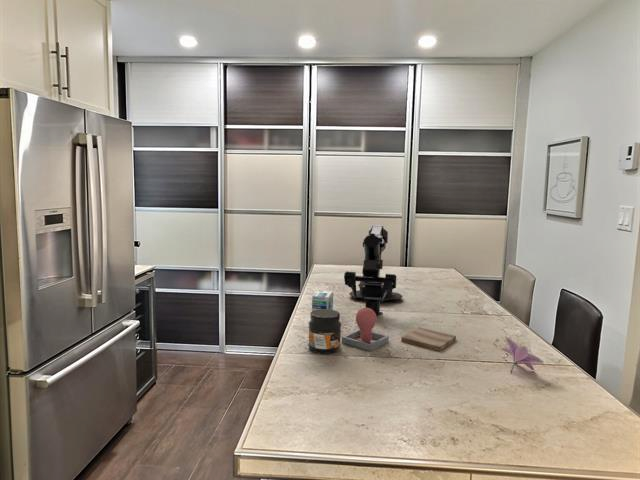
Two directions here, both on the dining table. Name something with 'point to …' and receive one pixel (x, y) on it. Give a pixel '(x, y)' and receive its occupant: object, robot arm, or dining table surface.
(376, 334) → the holder frame
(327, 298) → the light bulb box
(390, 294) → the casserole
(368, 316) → the light bulb
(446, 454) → the dining table surface
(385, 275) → the robot arm
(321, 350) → the supplement container
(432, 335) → the walnut board
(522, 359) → the lily
